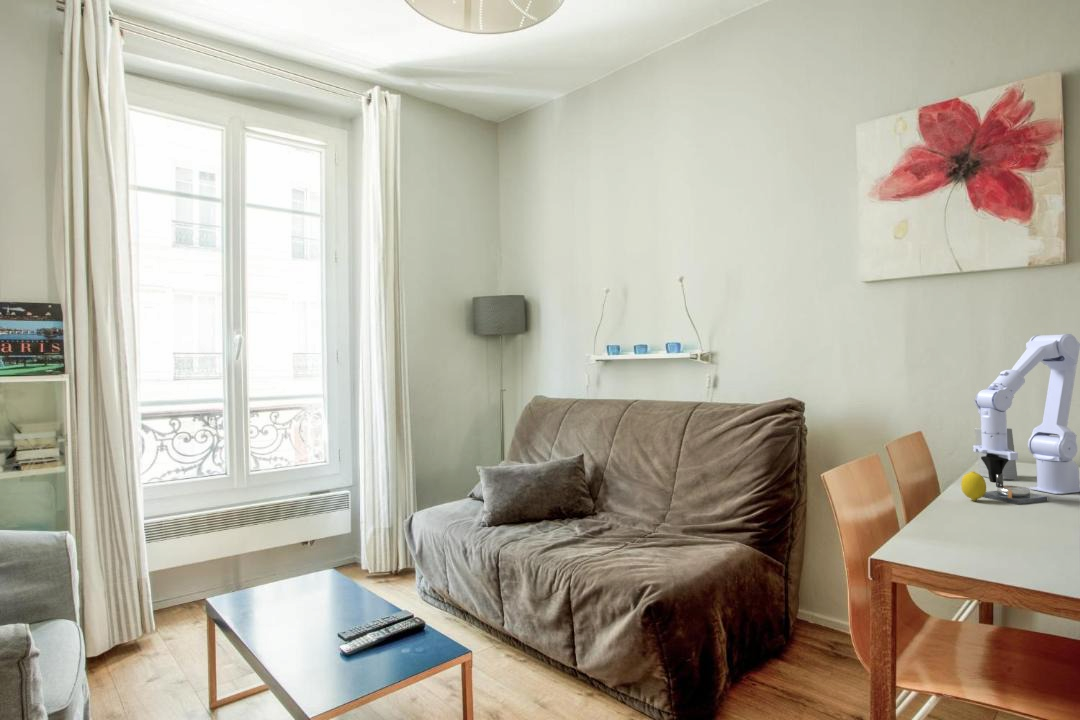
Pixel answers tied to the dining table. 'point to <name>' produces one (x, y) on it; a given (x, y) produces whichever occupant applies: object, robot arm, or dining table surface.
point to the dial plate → (1015, 498)
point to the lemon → (973, 485)
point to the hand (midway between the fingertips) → (995, 482)
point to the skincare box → (1010, 466)
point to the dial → (1010, 488)
